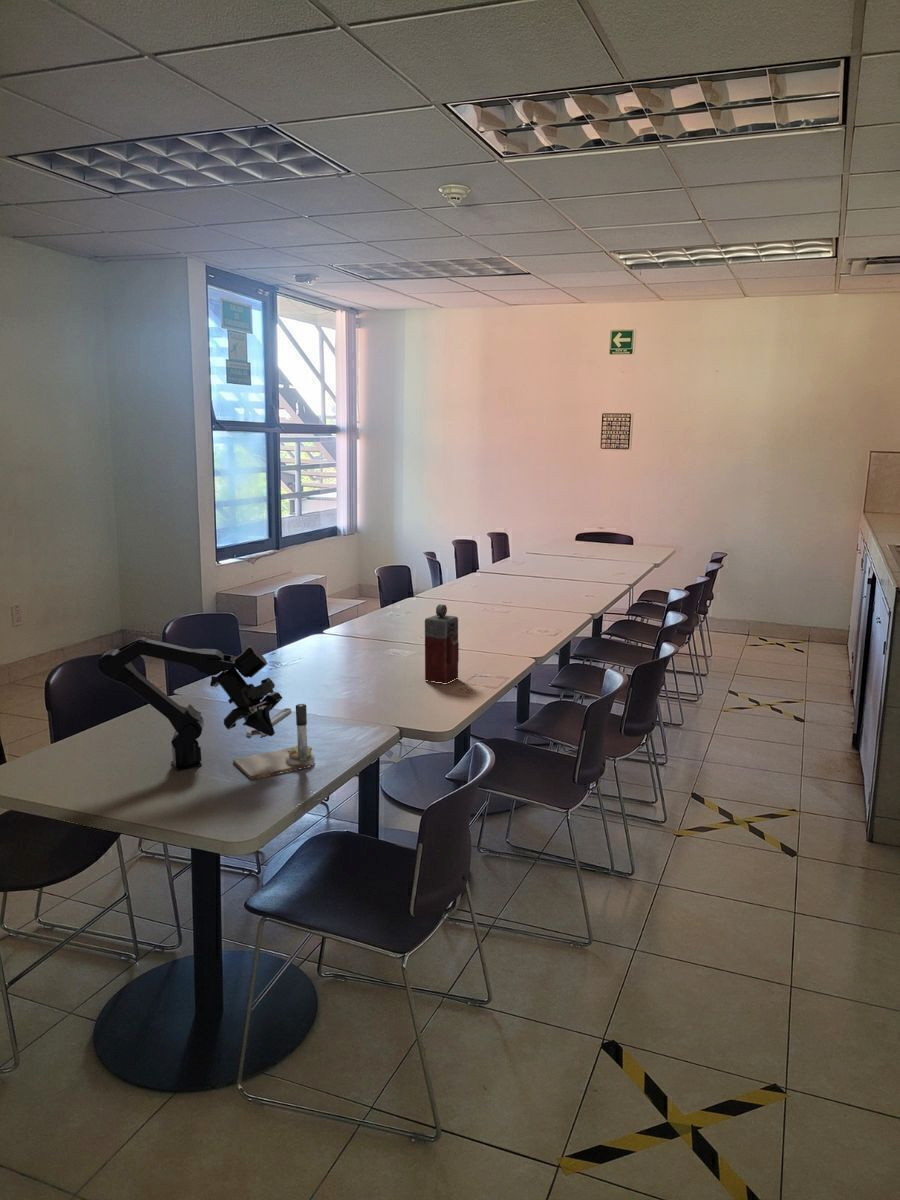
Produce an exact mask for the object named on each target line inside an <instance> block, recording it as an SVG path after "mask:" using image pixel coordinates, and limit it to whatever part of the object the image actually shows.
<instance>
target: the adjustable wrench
mask: <svg viewBox="0 0 900 1200" xmlns="http://www.w3.org/2000/svg"><path fill="white" fill-rule="evenodd" d="M291 713H292V709H291V708H288V707H287V708H283V709H281V710H280V711H278V712H277V713H276V714H274V715H273V716H271V717H270V720H271V723H272V726H275V725H276V724H277V723H279V722H280V721H281V720H282V719H284V718H286V717H287V716H288V715H290V714H291ZM254 734H255V735H256V734H260V737H265V736H268V735H267V734H265V733H262V732H260V731H258V730H256V729H254V728H251V727H249V728H248V729H246V736H247V737H250V738H251V737H252V735H254Z"/></svg>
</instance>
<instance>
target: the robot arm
mask: <svg viewBox="0 0 900 1200" xmlns="http://www.w3.org/2000/svg"><path fill="white" fill-rule="evenodd" d="M140 656H147V657H150V658H155V659H160V660H165V661H169V662H174V663H177V664H182V665H187V666H189V667H191V668H192V669H194V670H196V671H197V672H200V673H203V674H205V675H207V676H211V678H210V679H211V680H210V685H209V686H210V687H214V688H217V687H218V686H220V687H221V688H222V690H223V691H224V692H225V693H226V695H227V696H228V697H229V699H228V700H227V702H228V703H229V704H230V705H231V704H234V705H235V708H233V709H232V710H231V711H230V712H229V713H228V714H227V715H226V717H225V718H224V719H223V725H224V726H225V728H226V729H227V731H229V730H231V729H233V728H235V727H236V726H237V721H240V720H241V719H243V720H244V722H243V723H242V725H243V727H244V726H246V727H249V728H254V729H256V730H258V731H260V732H262V733H265V734H267V735H266V736H268V737H272V736H274V735H275V730H274V727H273V726H274V725H273V726H272V723H271V720H270V718H271V717H270V711H272V710H273V709H274V708H275V707H276V706H277V705H278V703H280V702H281V701H282V700H283V696H282V695H281V694H280V692H278V691H274V689H275V686H276V684H275V682H274V681H273V680H272V679H271V678H270V677H266V678H264V679H262V680H261V681H260V684H259V685H256V686H255V685H254V684H253V683H249V684H248V683H247V681H246V680H245V679H244V678H246V679H247V678H253V677H254V676H255V675H256V674H258V673H259V672H260V671H261V670H263V669H264V668H265V667H266V666H267V665H268V662H267V660H266V658H265V657H264V656H263V654H262V653H261V652H260V651H257V650H256V649H255V648H253V647H252V645H248V646H247V647H246V648H245V649H244V651H242V652H241V653H240V654H239V655H236V656H235V655H230V654H224V653H223V652H222V651H221V650H219V649H215V648H189V647H186V646H185V647H184V646H180V645H176V644H172V643H168V642H163V641H158V640H155V639H150V638H147V637H145V636H139V637H138V638H136V639H135V640H133V641H132V642H130V643H127V644H125V645H123V646H121V647H120V648H118V649H117V648H112V649H108V650H107V651H106V652H105V653H103V655H102V656H101V657H100V658H99V659H98V663H97V670H98V671H99V672H100V673H101V674H102V675H103V676H105V677H106V678H108V679H110V680H112V681H115V682H116V683H120V684H122V685H125V686H126V687H128V688H129V689H131V690H132V691H133V692H134V693H135V694H136V695H138V696H139V697H140V698H142V699H143V700H144V701H145V702H146V703H148V704H149V705H150V706H151V707H152V708H154V709H155V710H156V711H158V712H159V713H160V714H161V715H163V716H164V717H165V718H166V719H167V720H168V721H169V722H170V724H171V726H172V727H173V729H174V730H175V731H174V734H173V736H172V739H171V754H172V756H171V757H172V761H170V763H171V765H172V766H173V767H174V769H176V770H177V771H182V770H186V769H191V768H196V767H201V766H202V763H201V761H202V748H201V746H200V744H199V741H198V738H200V737H201V735H202V732H203V728H204V725H205V719H204V717H203V716H202V711H201V712H200V711H198V710H197V709H196V708H194V706H193V705H192V704H191V703H189V704H188V705H187V707H185V706H182V705H180V704H178V703H177V702H176V701H174V700H173V699H172V698H170V697H169V695H167V694H166V693H164V691H162V690H161V689H159V687H158V686H156V685H155V684H154V683H153V682H151V681H150V680H148V678H146V677H145V676H144V675H142V674H141V673H140V672H138V670H137V669H136V667H135V665H134V664H133V663H132V662H133V661H134V660H135V659H137V658H139V657H140ZM242 676H243V677H244V678H243V677H242Z"/></svg>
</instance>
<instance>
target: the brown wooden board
mask: <svg viewBox="0 0 900 1200" xmlns="http://www.w3.org/2000/svg"><path fill="white" fill-rule="evenodd" d="M289 748H290V747H288V748H283V749H279V750H273V751H269V752H263V753H259V754H254V755H248V756H244V757H239V758H235V759H232V761H233V762H232V763H233V764H234V766H236V767H237V769H239V770H240V771H241V772H242V771H243V772H244V773H245V774H244V773H243V772H242V773H243V774H244V775H245V776H246V777H248V779H249V780H251V779H253V780H256V779H255V778H258V779H261V778H260V777H262V778H265V777H264V776H267V777H269V776H268V775H272V776H274V775H273V774H276V775H278V774H277V773H280V772H285V773H287V772H286V771H290V770H294V771H296V770H295V769H299V768H304V767H308V766H311V765H312V764H314V765H315V763H316V762H315V754H314V752H313V753H312V752H311V756H310V757H309V758H307V760H301V761H300V760H299V759H291V758H289V752H288V750H289ZM314 762H315V763H314ZM311 767H312V766H311ZM308 768H309V767H308ZM304 769H305V768H304ZM299 770H300V769H299ZM290 772H291V771H290Z"/></svg>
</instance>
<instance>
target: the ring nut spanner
mask: <svg viewBox="0 0 900 1200" xmlns="http://www.w3.org/2000/svg"><path fill="white" fill-rule="evenodd" d="M307 711H308V710H307V704H305V703H298V704H296V705H295V723H296V735H297V736H296V737H297V744H296V745H294V746H291V747H288V748H289V750H288V752H289V758H291V759H299V760H300V761H301V760H307V758H309V757H310V756H311V753H312V750H313V748H312V746H311V747H310V746H308V735H307V733H308V731H307V730H308V729H307V724H308V719H307V718H308V717H307V715H308V714H307Z"/></svg>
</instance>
